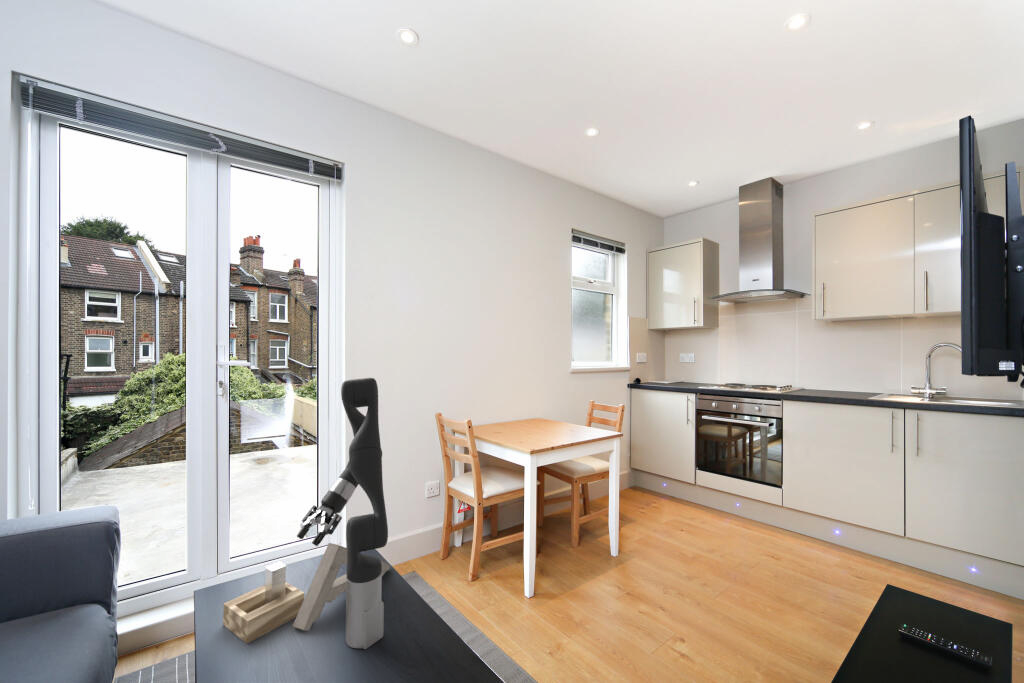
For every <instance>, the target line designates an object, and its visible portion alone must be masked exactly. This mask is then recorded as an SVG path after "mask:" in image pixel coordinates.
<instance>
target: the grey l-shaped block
mask: <svg viewBox="0 0 1024 683" xmlns="http://www.w3.org/2000/svg"><path fill="white" fill-rule="evenodd" d="M286 577H287V565H286V564H284V563H283V562H281V561H278V562H275V563H272V564H270V565H268V566H265V576H264V578H265V579H264V580H265V581H264V582H265V584H264V585H265V605H266V604H268V603H270V602H272V601H274V600H276V599H278V598H280V597H282V596H284V595H285V593H286V580H287V578H286Z"/></svg>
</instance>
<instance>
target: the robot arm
mask: <svg viewBox="0 0 1024 683" xmlns="http://www.w3.org/2000/svg"><path fill="white" fill-rule="evenodd" d="M340 394H341V402H342V405H343V409H344V411H345V414H346V416H347V419H348V421H349V423H350V426H351V429H352V434H353V438H352V441H351V443H350V445H349V447H348V459H349V460H348V462H347V464H346V466H345V469H344V470H343V471H342V473H341V474H340V475H339V477H338V478H337V479H336V480H335V481H334V483H333V484H332V485H331V487H330V488H329V490H328V491H327V492H326V493H325V495H324V497H322V499H321V501H320V503H321V505H320V506H319V507H318V506H316V505H313V506H311V507H310V509H309V510H308V512H307V513H306V514H305V516H304V517H303V518H302V520H301V522H302V523H303V525H302V528H300V530H299V531H298V533H297V535H296V537H297V538H298V539H300V540H303V539H304V537H306V535H307V534H308V532H309V531H310V529H311V528H312V527H314V526H316V525H320V531H318V533H317V534H316V535H315V537H314V538H313V540H312V542H311V544H312V545H314V547H318V546H319V545H320V544H321V543H322V542H323V540H324V538H325V537H326V536H328V535H330V536H331V535H333V533H334V532H335V530H336V529H337V527H338V525H339V524H340V522H341V520H342V519H343V517H342V516H341V515H340V514H341V513H342V511H343V509H344V508H345V507H346V505H347V503H348V502H349V500H350V499H351V498H352V497H353V494H354V492H355V490H356V489H357V487H358V486H360V487H361V489H362V490H363V491H364V492H365V494H366V496H367V498H368V500H369V501H370V504H371V506H372V511H373V513H369V514H362V515H357V516H352V517H350V518H349V519H348V520H347V522H346V526H345V528H346V530H345V538H346V539H345V541H346V542H345V543H346V548H347V565H346V574H347V584H346V591H345V593H346V594H345V596H346V597H345V605H346V606H345V642H346V645H347V646H348V647H350V648H352V649H353V648H354V649H363V650H367V649H368V648H370V647H371V646H372V645H374V644H375V643H377V642H378V641H380V640H381V639H383V637H384V615H385V614H384V613H385V609H384V608H385V604H384V601H382V589H383V588H382V586H383V585H382V581H383V580H382V578H383V576H382V563H381V561H382V560H381V559H379V558H378V557H376V556H373V555H368V554H367V555H366V554H363V553H362V552H367V551H371V550H373V551H374V550H377V549H381V548H385V547H386V545H387V543H388V540H389V529H388V528H389V527H388V519H387V518H388V517H387V509H386V504H385V502H386V500H385V495H384V485H383V484H384V482H383V460H382V458H383V450H382V447H381V437H380V425H379V388H378V382H377V380H376V379H375V378H374V377H362V378H354V379H353V378H352V379H348V380H346V379H345V380H344V381H343V382H342V383H341V388H340ZM365 407H367V412H366V415H364V414H363V413H362V412H361V411H360V410H359V409H358V408H365Z"/></svg>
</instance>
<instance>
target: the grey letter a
mask: <svg viewBox="0 0 1024 683" xmlns="http://www.w3.org/2000/svg"><path fill="white" fill-rule="evenodd" d="M380 561H381V563H382V577H383V576H384V575H385V574H386V573H387V571H390V569H391V564H390V563H387V562H384V561H382V560H380ZM342 564H343V565H346V566H347V547H345V546H342V545H339V544H335V543H333V542H332V543H331V542H329V543H327V547H326V548H325V551H324V553H323V556H322V558H321V560H320V563H319V564H318V567H317V569H316V571H315V574H314V576H313V578H312V580H311V583H310V585H309V587H308V589H307V592H306V594H305V595H304V601H303V603H302V605H301V608H300V610H299V612H298V615H297V617H295V618H294V619H295V620H294V621H293V624H292V627H293V628H296V629H299V630H302V631H305V632H309V631H310V630H311V627H312V624H313V623H315V622H317V621H318V620H319V618H320V617H321V614H322V612H323V610H324V607H325V605H326V603H329V604H330V603H332V602H333V601H334V600H335V599H337V598H338V597H339V596H340V595H342V594H343V593H344V592H346V584H347V573H345V574H343V575H341V576H339V577H337V576H338V573H339V571H340V569H341V566H342ZM388 564H389V565H390V566H389V565H388Z"/></svg>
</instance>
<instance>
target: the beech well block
mask: <svg viewBox="0 0 1024 683" xmlns="http://www.w3.org/2000/svg"><path fill="white" fill-rule="evenodd" d="M304 599H305V592H304V591H302V590H300V589H299V588H298V587H295V585H292V584H290V583H288V582H286V593H285V595H284V596H282V597H280V598H278V599H276V600H274V601H272V602H270V603H268V604H266V605H265V584H264V585H262V586H259V587H257V588H255V589H253V590H251V591H248V592H246V593H244V594H242V595H240V596H238V597H235V598H233V599H231V600H229V601H227V602H223V612H222V613H223V616H222V625H223V626H224V627H225V628H226V629H228V630H229V631H230V632H231V633H233V634H234V635H235V636H236V637H238V638H239V639H241V640H242V641H244V643H246V644H249V643H250V642H252V641H255V640H256V639H258V638H260V637H262V636H264V635H266V634H267V633H270V632H271V631H273V630H275V629H277V628H279V627H280V626H282V625H284V624H285V623H288V622H290V621H292V619H293V620H294V619H296V617H297V615H298V612H299V610H300V608H301V605H302V603H303V601H304Z"/></svg>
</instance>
